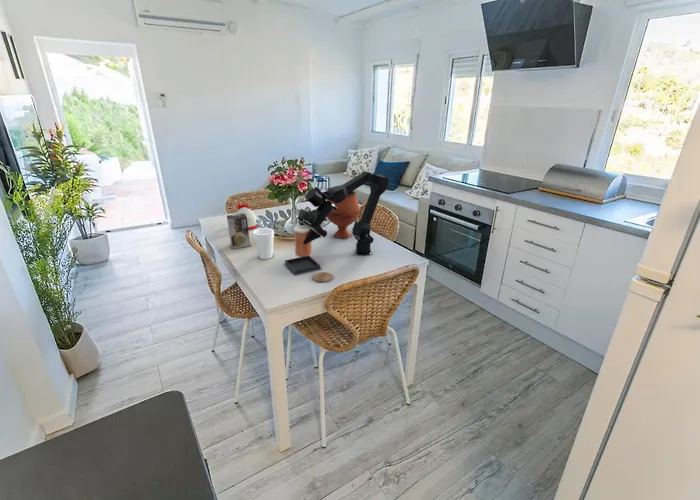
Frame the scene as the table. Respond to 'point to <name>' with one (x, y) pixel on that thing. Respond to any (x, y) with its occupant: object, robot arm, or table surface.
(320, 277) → the coaster
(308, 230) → the canister
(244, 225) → the coffee box
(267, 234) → the foam cup
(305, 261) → the tray
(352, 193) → the terracotta vase
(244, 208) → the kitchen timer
